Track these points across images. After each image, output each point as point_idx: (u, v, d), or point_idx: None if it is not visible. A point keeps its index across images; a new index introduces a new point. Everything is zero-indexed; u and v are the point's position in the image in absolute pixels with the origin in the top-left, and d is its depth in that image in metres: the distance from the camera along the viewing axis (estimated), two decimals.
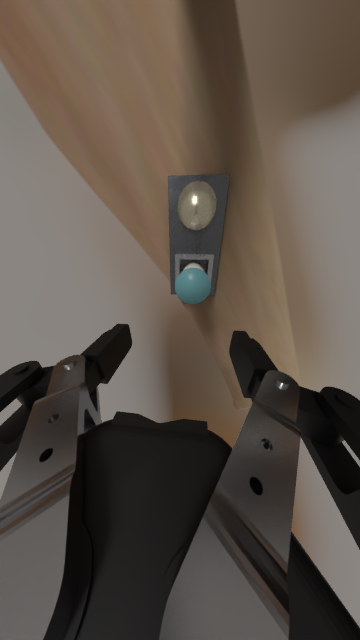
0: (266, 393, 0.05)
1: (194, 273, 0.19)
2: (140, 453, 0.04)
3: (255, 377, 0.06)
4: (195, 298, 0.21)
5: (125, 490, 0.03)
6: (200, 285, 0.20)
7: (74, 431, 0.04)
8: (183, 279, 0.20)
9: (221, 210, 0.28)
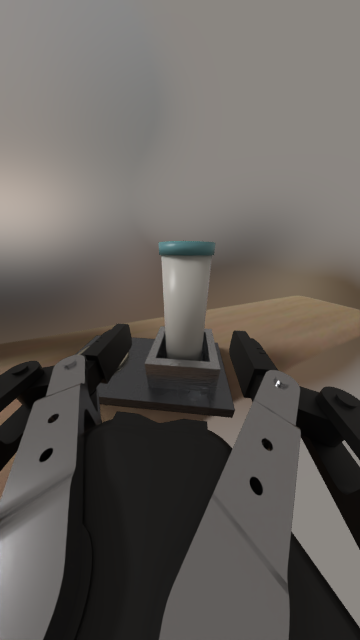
0: (266, 393, 0.05)
1: None
2: (140, 453, 0.04)
3: (255, 377, 0.06)
4: None
5: (125, 490, 0.03)
6: None
7: (74, 431, 0.04)
8: None
9: None
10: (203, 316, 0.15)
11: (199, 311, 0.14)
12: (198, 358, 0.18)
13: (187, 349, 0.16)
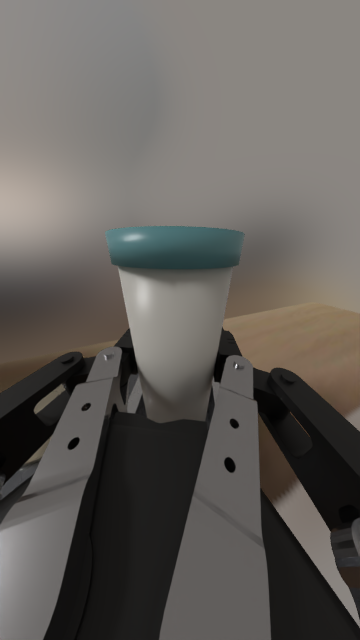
0: (222, 372, 0.06)
1: None
2: (140, 453, 0.04)
3: (221, 362, 0.07)
4: None
5: (125, 490, 0.03)
6: None
7: (99, 427, 0.04)
8: None
9: None
10: (210, 379, 0.08)
11: (204, 378, 0.07)
12: None
13: None
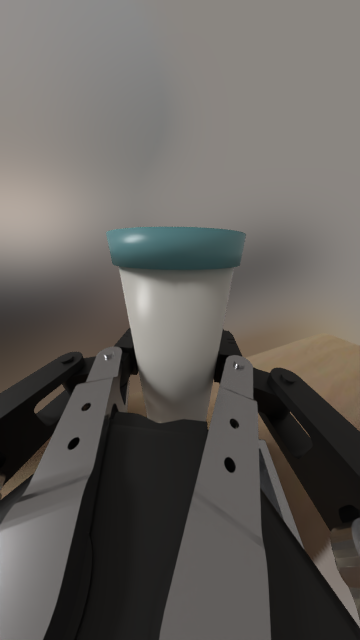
0: (222, 372, 0.06)
1: None
2: (140, 453, 0.04)
3: (221, 362, 0.07)
4: None
5: (125, 490, 0.03)
6: None
7: (99, 427, 0.04)
8: None
9: None
10: (211, 380, 0.08)
11: (205, 378, 0.07)
12: None
13: None
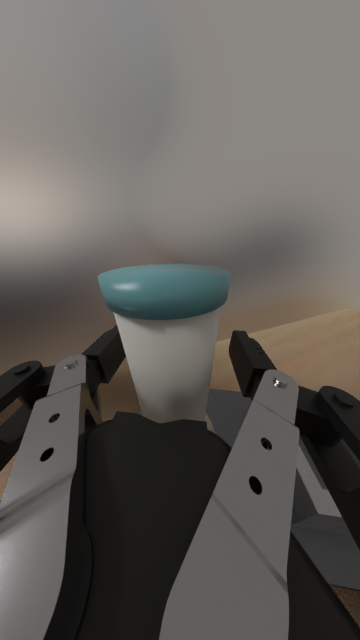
0: (265, 392, 0.05)
1: (124, 270, 0.06)
2: (140, 453, 0.04)
3: (254, 377, 0.07)
4: (205, 269, 0.06)
5: (125, 490, 0.03)
6: (164, 267, 0.07)
7: (75, 431, 0.04)
8: (130, 276, 0.05)
9: None
10: (205, 399, 0.08)
11: (198, 400, 0.07)
12: None
13: None
